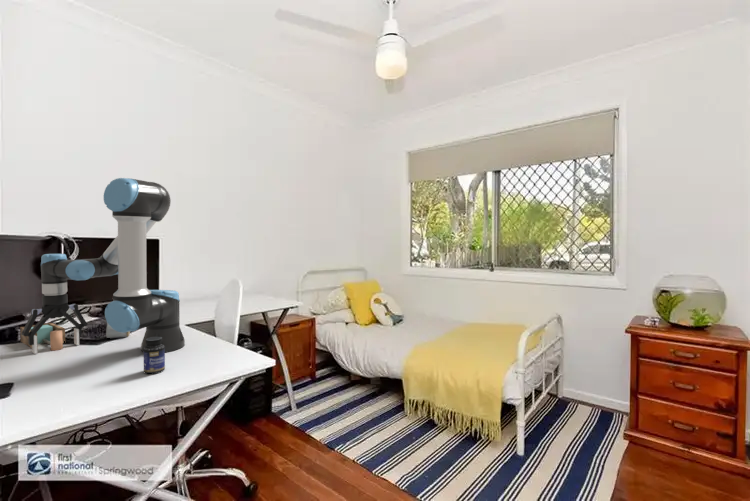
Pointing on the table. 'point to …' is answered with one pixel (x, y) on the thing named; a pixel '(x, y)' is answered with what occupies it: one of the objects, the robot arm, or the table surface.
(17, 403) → the table surface
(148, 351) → the pill bottle
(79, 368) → the table surface
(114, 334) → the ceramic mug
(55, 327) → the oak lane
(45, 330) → the tethered block
